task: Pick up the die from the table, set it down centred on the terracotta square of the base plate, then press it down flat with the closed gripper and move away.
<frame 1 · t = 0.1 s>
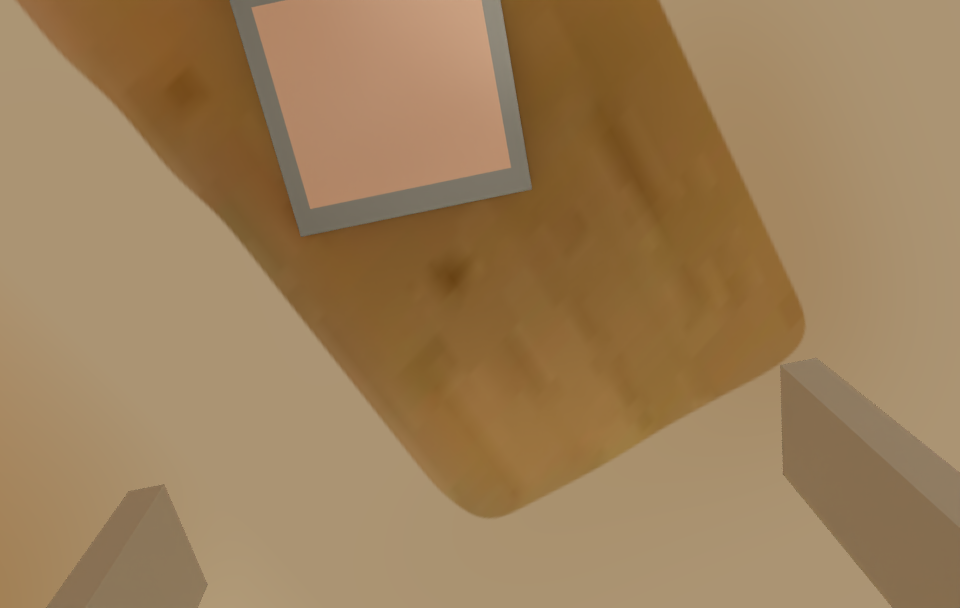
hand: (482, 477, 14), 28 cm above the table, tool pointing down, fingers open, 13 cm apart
base plate: (389, 90, 38), on the table
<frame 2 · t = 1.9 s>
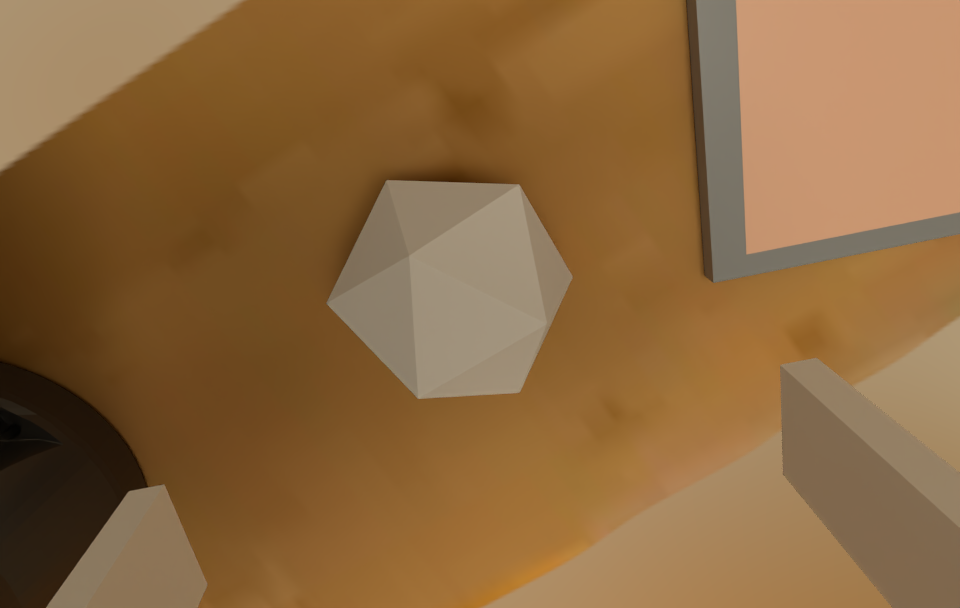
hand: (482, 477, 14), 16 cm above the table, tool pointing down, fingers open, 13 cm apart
die: (452, 259, 29), on the table
base plate: (861, 84, 27), on the table
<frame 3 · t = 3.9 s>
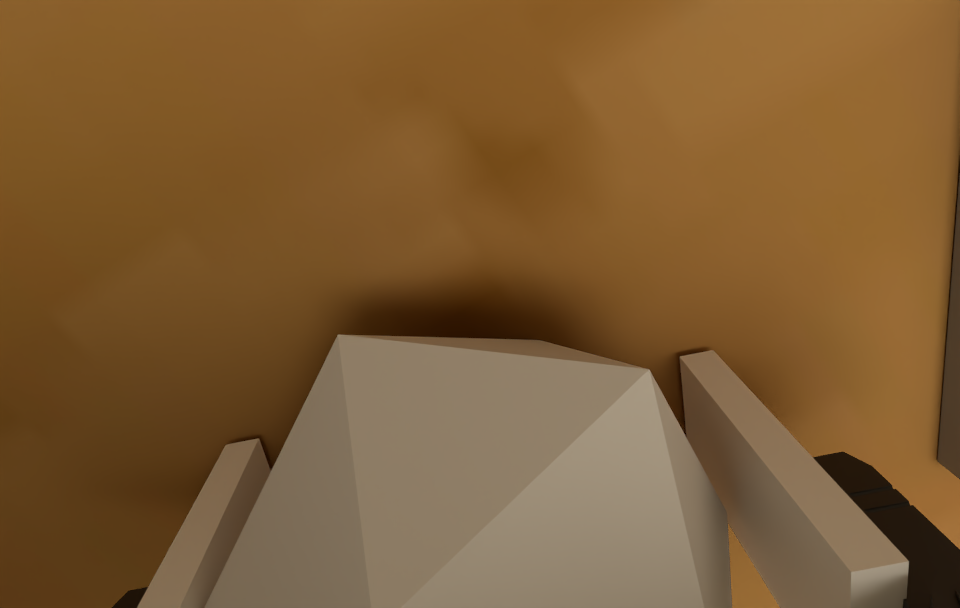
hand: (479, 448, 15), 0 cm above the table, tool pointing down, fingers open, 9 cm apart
die: (475, 437, 16), on the table, touching gripper
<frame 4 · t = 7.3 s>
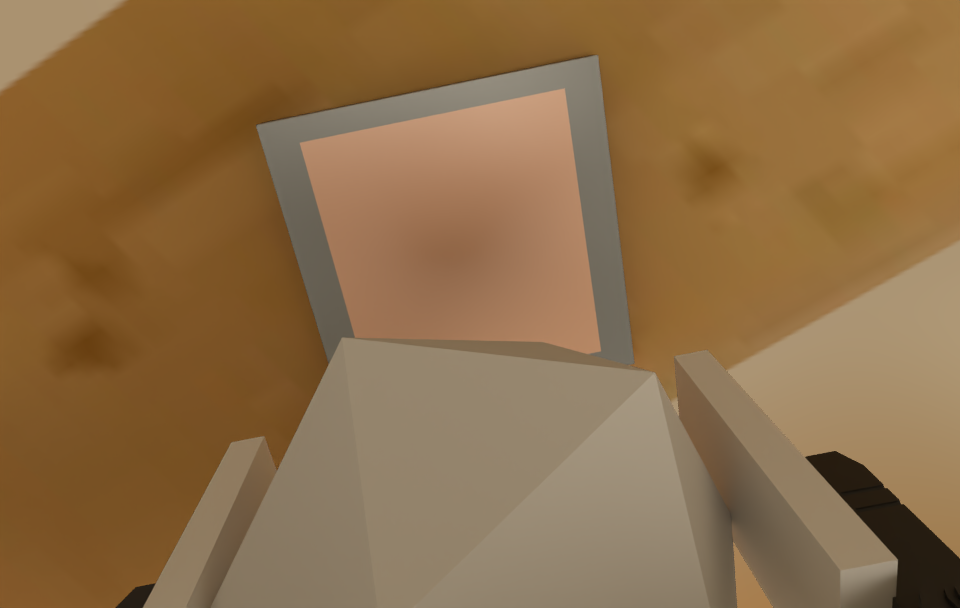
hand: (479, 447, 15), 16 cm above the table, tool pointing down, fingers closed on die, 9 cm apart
die: (478, 439, 16), point 16 cm above the table, touching gripper
base plate: (460, 248, 30), on the table
when the fingers open (2 cm above the table, at t = 10.0 s): die drops 1 cm, resting on base plate.
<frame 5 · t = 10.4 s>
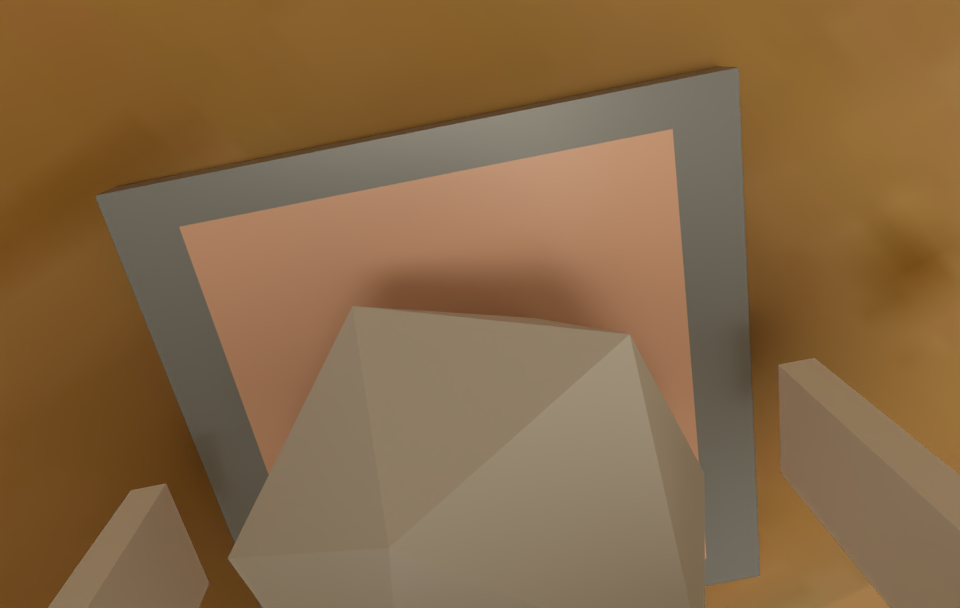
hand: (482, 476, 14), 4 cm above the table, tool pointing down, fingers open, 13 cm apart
die: (475, 409, 17), point 1 cm above the table, touching base plate
base plate: (473, 394, 18), on the table
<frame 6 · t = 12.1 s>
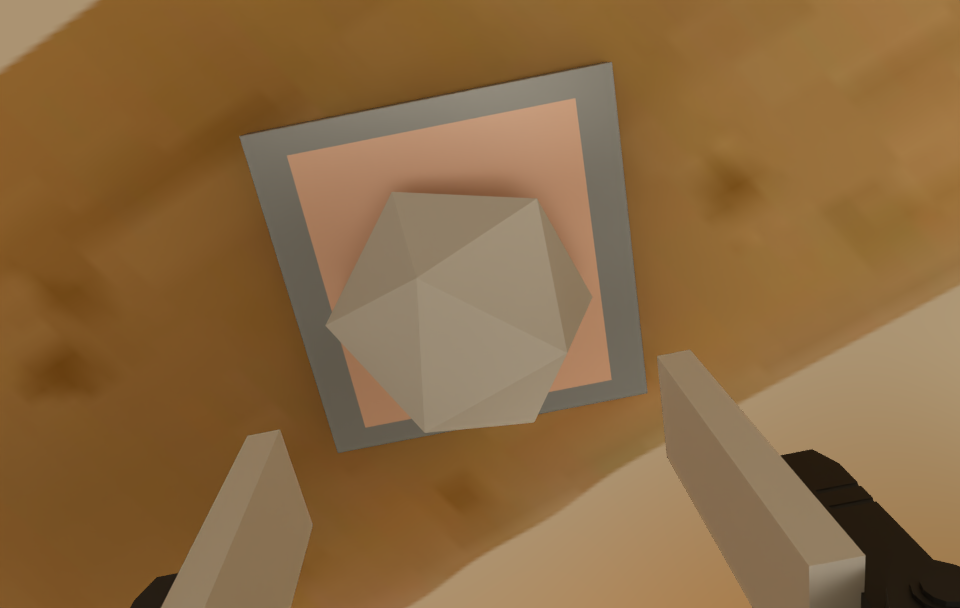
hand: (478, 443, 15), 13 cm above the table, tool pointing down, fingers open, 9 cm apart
die: (461, 275, 27), point 1 cm above the table, touching base plate
base plate: (461, 268, 28), on the table
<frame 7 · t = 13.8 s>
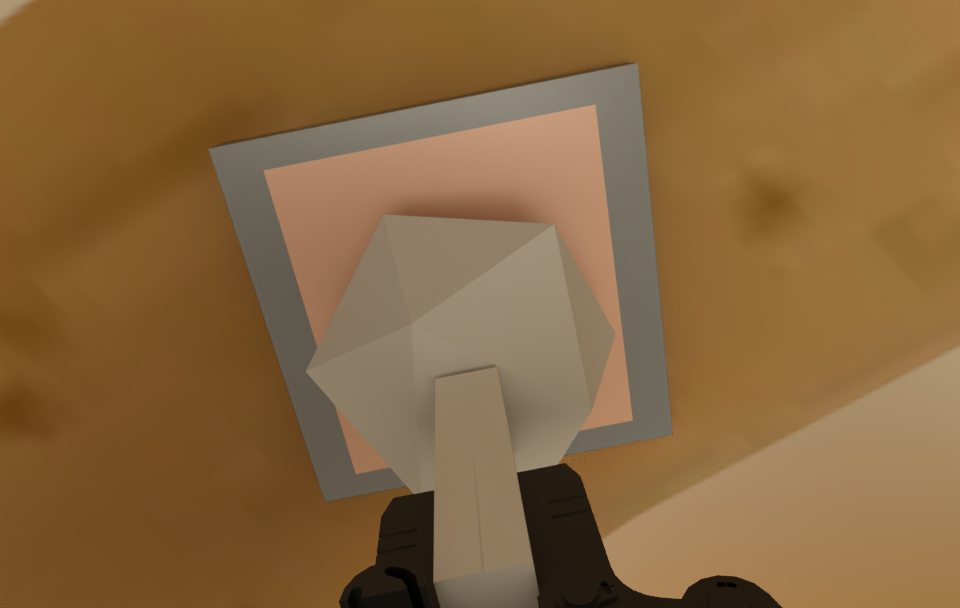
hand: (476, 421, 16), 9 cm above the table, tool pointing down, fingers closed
die: (464, 304, 24), point 1 cm above the table, touching base plate, gripper
base plate: (463, 296, 25), on the table
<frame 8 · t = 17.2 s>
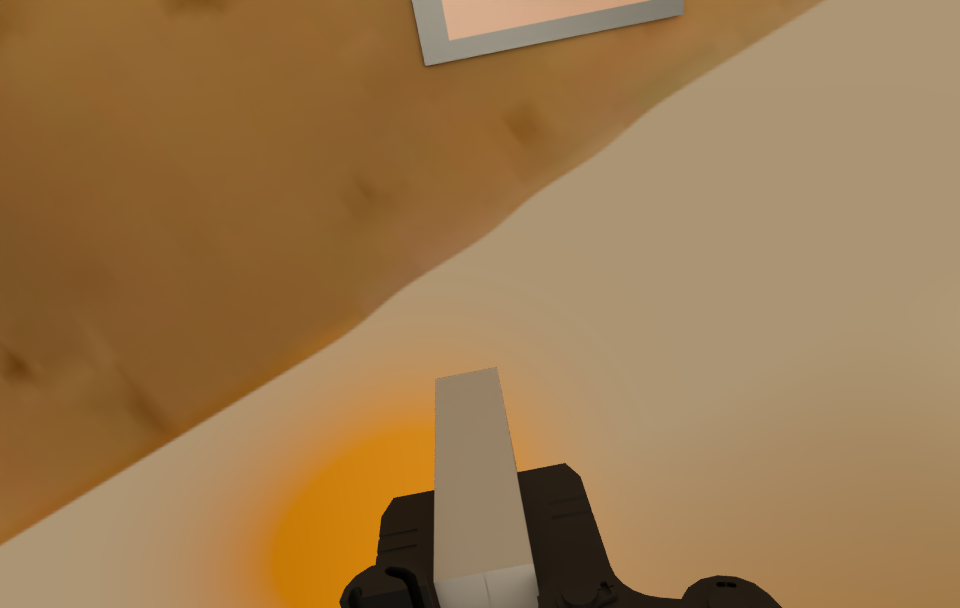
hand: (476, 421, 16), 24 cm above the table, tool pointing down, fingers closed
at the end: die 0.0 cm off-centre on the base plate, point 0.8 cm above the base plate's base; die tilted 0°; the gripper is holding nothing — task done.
